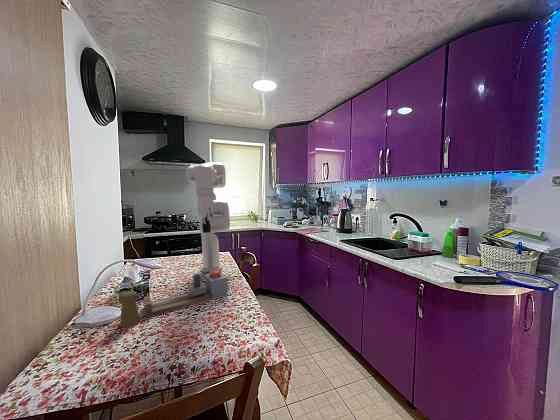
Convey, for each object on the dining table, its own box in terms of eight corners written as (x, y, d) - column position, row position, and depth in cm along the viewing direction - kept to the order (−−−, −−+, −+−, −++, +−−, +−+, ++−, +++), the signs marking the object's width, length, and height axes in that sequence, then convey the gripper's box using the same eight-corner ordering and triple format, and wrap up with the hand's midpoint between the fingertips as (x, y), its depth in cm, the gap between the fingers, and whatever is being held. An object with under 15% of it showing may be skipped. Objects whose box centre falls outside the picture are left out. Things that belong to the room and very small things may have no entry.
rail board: (144, 306, 94) (143, 296, 94) (204, 291, 107) (203, 282, 107) (146, 317, 86) (145, 306, 85) (211, 299, 99) (210, 289, 99)
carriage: (188, 292, 102) (187, 273, 101) (202, 289, 105) (201, 271, 105) (192, 298, 96) (191, 278, 95) (206, 294, 99) (205, 275, 99)
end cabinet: (205, 291, 108) (204, 274, 107) (220, 287, 112) (219, 271, 111) (212, 299, 99) (211, 281, 99) (227, 294, 103) (227, 277, 103)
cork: (118, 329, 79) (116, 297, 78) (121, 320, 84) (119, 291, 83) (139, 324, 82) (137, 293, 81) (140, 316, 87) (138, 287, 86)
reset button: (208, 279, 106) (208, 271, 105) (219, 277, 108) (218, 269, 108) (212, 283, 102) (211, 274, 101) (223, 280, 104) (222, 272, 104)
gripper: (192, 193, 111) (194, 231, 113) (201, 193, 99) (203, 235, 100) (207, 192, 115) (209, 229, 117) (218, 192, 103) (220, 233, 104)
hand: (206, 232), depth 109 cm, fingers closed
